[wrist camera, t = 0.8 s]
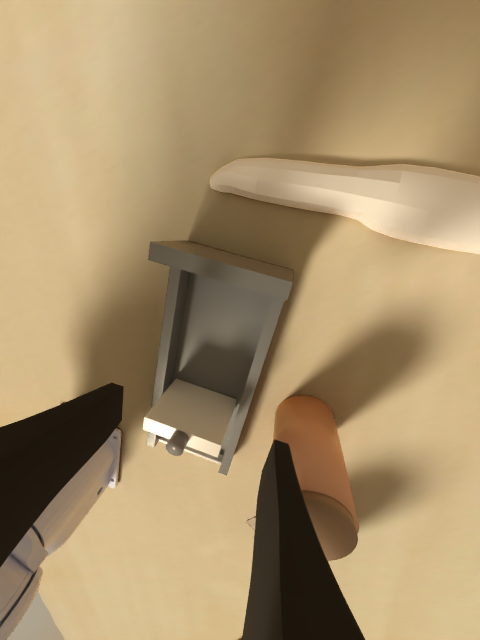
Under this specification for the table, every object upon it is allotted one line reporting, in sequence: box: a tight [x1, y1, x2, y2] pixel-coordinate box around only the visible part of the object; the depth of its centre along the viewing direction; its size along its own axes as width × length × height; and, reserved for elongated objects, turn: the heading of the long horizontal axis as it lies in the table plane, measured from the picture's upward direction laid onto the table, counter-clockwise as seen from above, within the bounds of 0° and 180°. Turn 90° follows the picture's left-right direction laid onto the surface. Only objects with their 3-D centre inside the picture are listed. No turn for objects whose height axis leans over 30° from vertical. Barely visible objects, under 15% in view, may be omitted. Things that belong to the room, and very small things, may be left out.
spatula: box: [209, 158, 480, 254], centre depth 14 cm, size 28×4×2 cm, turn 78°
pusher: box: [143, 378, 237, 458], centre depth 19 cm, size 1×6×6 cm, turn 76°
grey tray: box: [147, 241, 293, 475], centre depth 19 cm, size 19×8×5 cm, turn 166°
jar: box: [273, 395, 359, 561], centre depth 17 cm, size 5×5×9 cm
